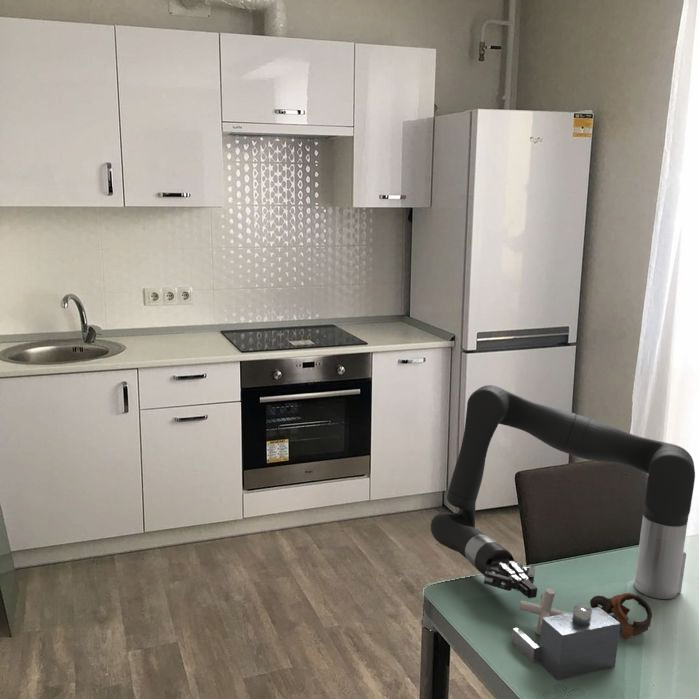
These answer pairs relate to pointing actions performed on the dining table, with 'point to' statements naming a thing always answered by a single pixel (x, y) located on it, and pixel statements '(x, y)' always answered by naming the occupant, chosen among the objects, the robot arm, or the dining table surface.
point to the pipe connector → (542, 608)
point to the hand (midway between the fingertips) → (533, 593)
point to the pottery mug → (624, 612)
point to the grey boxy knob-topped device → (573, 642)
